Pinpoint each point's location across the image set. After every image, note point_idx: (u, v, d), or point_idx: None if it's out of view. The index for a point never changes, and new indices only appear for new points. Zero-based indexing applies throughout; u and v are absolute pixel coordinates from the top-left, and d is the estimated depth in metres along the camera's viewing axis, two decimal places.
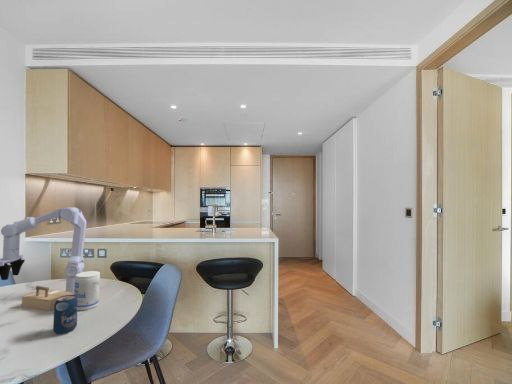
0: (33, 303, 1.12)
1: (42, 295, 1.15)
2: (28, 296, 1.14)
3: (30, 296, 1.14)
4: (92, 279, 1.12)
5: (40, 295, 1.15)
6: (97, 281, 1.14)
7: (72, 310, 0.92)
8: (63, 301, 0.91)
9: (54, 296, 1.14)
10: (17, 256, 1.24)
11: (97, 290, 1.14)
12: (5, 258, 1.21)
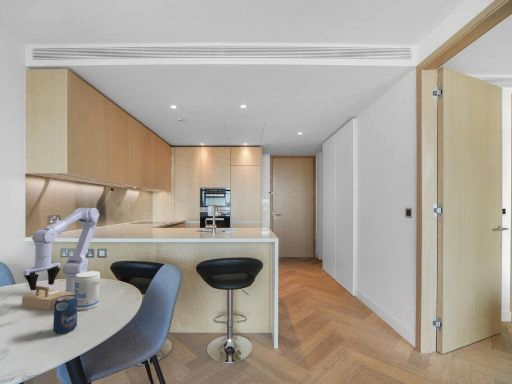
0: (33, 303, 1.12)
1: (42, 295, 1.15)
2: (28, 296, 1.14)
3: (30, 296, 1.14)
4: (92, 279, 1.12)
5: (40, 295, 1.15)
6: (97, 281, 1.14)
7: (72, 310, 0.92)
8: (63, 301, 0.91)
9: (54, 296, 1.14)
10: (47, 265, 1.14)
11: (97, 290, 1.14)
12: (35, 266, 1.12)
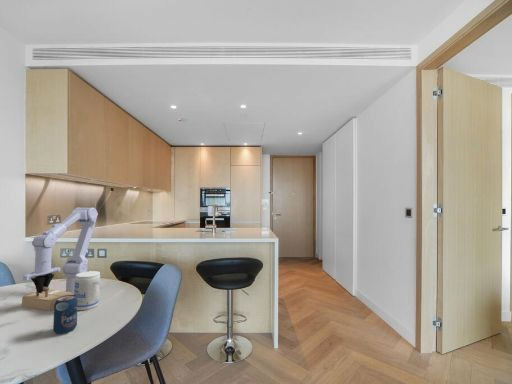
0: (33, 303, 1.12)
1: (42, 295, 1.15)
2: (28, 296, 1.14)
3: (30, 296, 1.14)
4: (92, 279, 1.12)
5: (40, 295, 1.15)
6: (97, 281, 1.14)
7: (72, 310, 0.92)
8: (63, 301, 0.91)
9: (54, 296, 1.14)
10: (47, 270, 1.14)
11: (97, 290, 1.14)
12: (35, 271, 1.12)
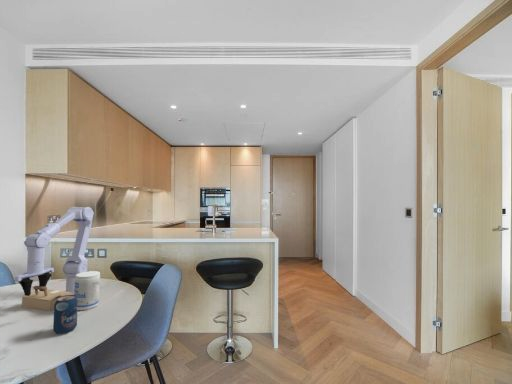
0: (33, 303, 1.12)
1: (42, 294, 1.15)
2: (28, 296, 1.14)
3: (30, 296, 1.14)
4: (92, 279, 1.12)
5: (40, 294, 1.15)
6: (97, 281, 1.14)
7: (72, 310, 0.92)
8: (63, 301, 0.91)
9: (54, 294, 1.14)
10: (39, 270, 1.11)
11: (97, 290, 1.14)
12: (27, 272, 1.09)
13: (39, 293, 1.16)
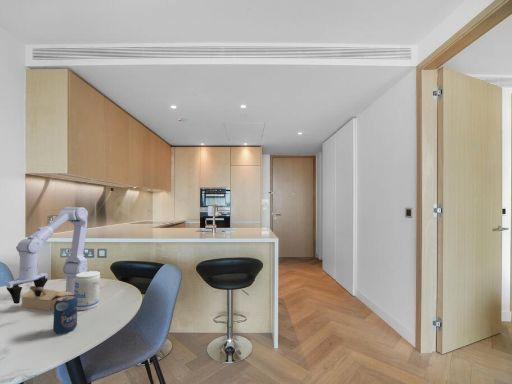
0: (33, 303, 1.12)
1: (41, 292, 1.15)
2: (27, 295, 1.14)
3: (29, 295, 1.14)
4: (92, 279, 1.12)
5: None
6: (97, 281, 1.14)
7: (72, 310, 0.92)
8: (63, 301, 0.91)
9: (52, 292, 1.14)
10: (32, 276, 1.08)
11: (97, 290, 1.14)
12: (19, 278, 1.06)
13: None
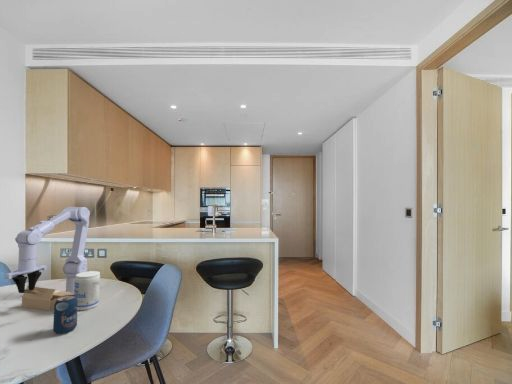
0: (33, 303, 1.12)
1: (37, 291, 1.13)
2: (26, 295, 1.13)
3: (28, 295, 1.13)
4: (92, 279, 1.12)
5: None
6: (97, 281, 1.14)
7: (72, 310, 0.92)
8: (63, 301, 0.91)
9: (49, 291, 1.12)
10: (31, 268, 1.07)
11: (97, 290, 1.14)
12: (18, 269, 1.06)
13: (34, 290, 1.14)
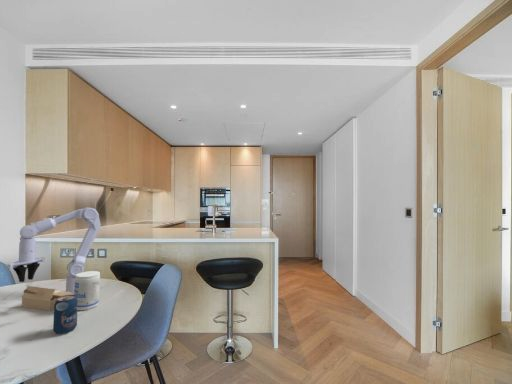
0: (33, 303, 1.12)
1: (37, 291, 1.13)
2: (26, 295, 1.13)
3: (28, 295, 1.13)
4: (92, 279, 1.12)
5: None
6: (97, 281, 1.14)
7: (72, 310, 0.92)
8: (63, 301, 0.91)
9: (49, 291, 1.12)
10: (30, 259, 1.18)
11: (97, 290, 1.14)
12: (19, 260, 1.17)
13: (34, 290, 1.14)
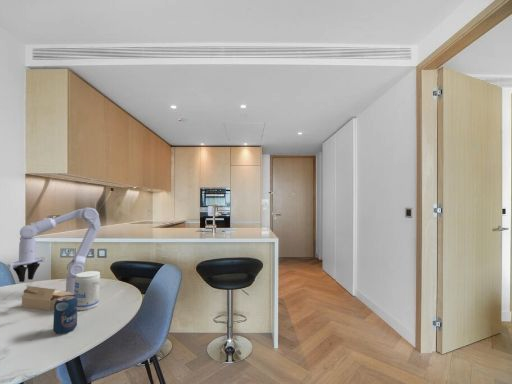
0: (33, 303, 1.12)
1: (37, 291, 1.13)
2: (26, 295, 1.13)
3: (28, 295, 1.13)
4: (92, 279, 1.12)
5: None
6: (97, 281, 1.14)
7: (72, 310, 0.92)
8: (63, 301, 0.91)
9: (49, 291, 1.12)
10: (30, 259, 1.18)
11: (97, 290, 1.14)
12: (19, 260, 1.17)
13: (34, 290, 1.14)
